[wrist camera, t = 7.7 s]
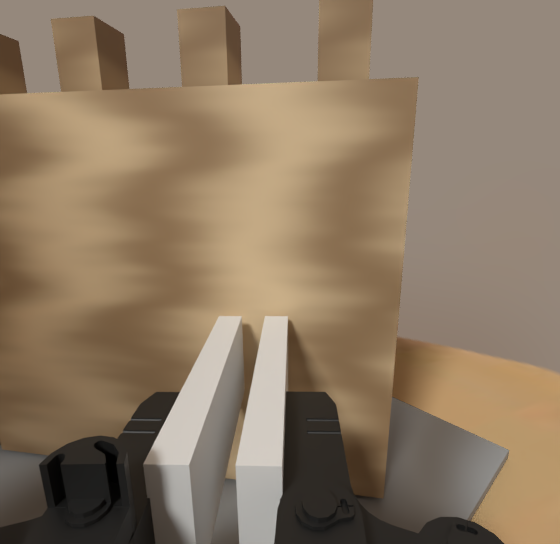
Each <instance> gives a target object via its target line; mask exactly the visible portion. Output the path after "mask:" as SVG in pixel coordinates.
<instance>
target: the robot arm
mask: <svg viewBox="0 0 560 544" xmlns="http://www.w3.org/2000/svg"><path fill="white" fill-rule="evenodd" d="M244 390H245V383H244V358H243V333H242V316H219V317H218V319H217V321H216V323H215V325H214V327H213V329H212V331H211V333H210V335H209V337H208V339H207V341H206V343H205V345H204V346H203V348H202V350H201V352H200V354H199V356H198V358H197V360H196V362H195V364H194V366H193V368H192V370H191V372H190V374H189V376H188V378H187V380H186V382H185V384H184V386H183V387H182V389H181V391H180V392H155V393H154V394H153V395H151V396H150V397H149V398H147V399H146V400H145V401H143V402H142V403H141V404H140V405H139V406H138V408H137V409H136V411H135V413H134V414H133V416H132V417H131V421H129V422H128V423H127V425H126V426H125V428H124V429H123V433H121V434H120V435H119V437H118V438H117V439H116V438H115V437H109V436H101V435H100V436H93V437H86V438H82V439H79V440H76V441H74V442H71V443H68V444H66V445H64V446H63V447H61V448H59V449H57V450H56V451H54V452H52V453H51V454H50V455H49V456H48V457H47V458H45V459H44V460H43V461H42V462H41V463H40V464H39V469H40V474H41V478H42V483H43V488H44V493H45V498H46V502H47V507H48V508H47V509H46V511H45V512H44V514H43V515H42V516H41V517H37V518H34V519H31V520H28V521H24V522H20V523H16V524H12V525H8V526H4V527H0V544H211V539H212V535H213V530H214V526H215V521H216V517H217V512H218V508H219V503H220V499H221V494H222V490H223V485H224V481H225V476H226V472H227V467H228V463H229V458H230V454H231V449H232V445H233V440H234V435H235V431H236V426H237V422H238V417H239V413H240V408H241V404H242V399H243V395H244ZM235 467H236V488H237V508H238V528H239V544H504V543H503V542H502V541H501V540H500V539H499V538H498V537H497V536H496V535H495V534H493V533H492V532H490V531H488V530H487V529H485V528H483V527H482V526H480V525H479V524H477V523H475V522H471V521H468V520H465V519H462V518H459V517H438V518H436V519H433V520H431V521H428V522H427V523H426V524H425V525H424V527H423V528H422V529H421V531H420V532H419V533H416V532H413V531H409V530H406V529H403V528H400V527H397V526H394V525H391V524H389V523H386V522H384V521H382V520H380V519H378V518H377V517H375V516H374V515H372V514H371V513H369V512H368V511H367V510H366V509H365V508H364V507H363V506H362V505H361V504H360V503H359V501H358V500H357V498H356V497H355V495H354V493H353V490H352V487H351V483H350V478H349V472H348V467H347V461H346V456H345V450H344V445H343V440H342V434H341V429H340V423H339V418H338V412H337V407H336V404H335V402H334V401H333V400H332V399H331V398H330V397H329V395H328V394H327V393H326V392H294V391H288V316H265V318H264V323H263V328H262V333H261V338H260V344H259V349H258V354H257V359H256V364H255V369H254V374H253V379H252V384H251V389H250V394H249V399H248V404H247V409H246V414H245V420H244V425H243V430H242V435H241V440H240V445H239V450H238V455H237V460H236V465H235Z"/></svg>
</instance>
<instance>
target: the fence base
mask: <svg viewBox="0 0 560 544" xmlns="http://www.w3.org/2000/svg"><path fill="white" fill-rule="evenodd" d="M508 454H509V450H508V449H505V448H503V447H501V446H499V445H497V444H494V443H492V442H490V441H488V440H486V439H483V438H481V437H479V436H477V435H475V434H473V433H470V432H468V431H466V430H464V429H462V428H459V427H457V426H455V425H453V424H451V423H448V422H446V421H444V420H442V419H440V418H437V417H435V416H433V415H431V414H429V413H427V412H424V411H422V410H420V409H418V408H416V407H413V406H411V405H409V404H407V403H405V402H402V401H400V400H398V399H396V398H394V397H392V401H391V413H390V425H389V437H388V449H387V461H386V473H385V485H384V497H383V498H375V497H367V496H360V495H355V497H356V498H357V500H358V501H359V503H360V504H361V505H362V506H363V507H364V508H365V509H366V510H367V511H368V512H369V513H371V514H372V515H374V516H375V517H377V518H378V519H380V520H382V521H384V522H386V523H389V524H391V525H394V526H397V527H400V528H403V529H406V530H409V531H413V532H416V533H419V532H420V531H421V529H422V528H423V527H424V525H425V524H426V523H427V522H428V521H431V520H433V519H436V518H438V517H459V518H462V519H465V520H468V521H471V519H472V517H473V516H474V514H475V512H476V511H477V509H478V507H479V505H480V504H481V502H482V500H483V499H484V497H485V495H486V494H487V492H488V490H489V489H490V487H491V485H492V484H493V482H494V480H495V479H496V477H497V475H498V473H499V472H500V470H501V468H502V467H503V465H504V463H505V462H506V460H507V458H508ZM48 456H49V455H41V454H33V453H26V452H18V451H10V450H2V447H1V442H0V527H4V526H8V525H12V524H16V523H20V522H24V521H28V520H31V519H34V518H37V517H41V516H42V515H43V514H44V512H45V511H46V509H47V508H48V507H47V502H46V498H45V493H44V488H43V483H42V478H41V474H40V469H39V464H40V463H41V462H42V461H43V460H44V459H45V458H47V457H48ZM211 544H239V528H238V508H237V488H236V480H235V479H227V478H225V481H224V485H223V490H222V494H221V499H220V503H219V508H218V512H217V517H216V521H215V526H214V530H213V535H212V539H211Z"/></svg>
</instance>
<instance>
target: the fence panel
mask: <svg viewBox="0 0 560 544" xmlns="http://www.w3.org/2000/svg"><path fill="white" fill-rule="evenodd" d="M372 12H373V0H319V42H318V81H316V82H293V83H292V82H291V83H266V84H243V85H242V76H241V75H242V74H241V39H240V26H239V24H238V23H237V22H236V21H235V19H234V18H233V16H232V15H231V13H230V12H229V11H228V9H227V8H226V7H225V6H217V7H203V8H190V9H178V10H177V13H178V30H179V45H180V59H181V75H182V87H170V88H147V89H146V88H144V89H129V82H128V72H127V62H126V52H125V42H124V34H122V33H121V32H119V31H118V30H116V29H114V28H113V27H111V26H109V25H108V24H106V23H104V22H103V21H101V20H100V19H98V18H96V17H94V16H84V17H70V18H57V19H51V23H52V30H53V37H54V44H55V51H56V58H57V65H58V72H59V79H60V86H61V92H48V93H27V90H26V84H25V78H24V72H23V66H22V60H21V54H20V48H19V42H18V41H16V40H14V39H11V38H9V37H6V36H4V35H1V34H0V442H1V447H2V450H10V451H18V452H26V453H33V454H41V455H50V454H51V453H52V452H54V451H56V450H57V449H59V448H61V447H63V446H64V445H66V444H68V443H71V442H74V441H76V440H79V439H82V438H86V437H93V436H100V435H101V436H109V437H115V438H116V439H117V438H118V437H119V435H120V434H121V433H123V429H124V428H125V426H126V425H127V423H128V422H129V421H131V417H132V416H133V414H134V413H135V411H136V409H137V408H138V406H139V405H140V404H141V403H142V402H143V401H145V400H146V399H147V398H149V397H150V396H151V395H153V394H154V393H155V392H180V391H181V389H182V387H183V386H184V384H185V382H186V380H187V378H188V376H189V374H190V372H191V370H192V368H193V366H194V364H195V362H196V360H197V358H198V356H199V354H200V352H201V350H202V348H203V346H204V345H205V343H206V341H207V339H208V337H209V335H210V333H211V331H212V329H213V327H214V325H215V323H216V321H217V319H218V317H219V316H242V333H243V358H244V383H245V390H244V395H243V399H242V404H241V408H240V413H239V417H238V422H237V426H236V431H235V435H234V440H233V445H232V449H231V454H230V458H229V463H228V467H227V472H226V476H225V478H227V479H235V480H236V467H235V465H236V460H237V455H238V450H239V445H240V440H241V435H242V430H243V425H244V420H245V414H246V409H247V404H248V399H249V394H250V389H251V384H252V379H253V374H254V369H255V364H256V359H257V354H258V349H259V344H260V338H261V333H262V328H263V323H264V318H265V316H288V391H294V392H326V393H327V394H328V395H329V397H330V398H331V399H332V400H333V401H334V402H335V404H336V407H337V412H338V418H339V423H340V429H341V434H342V440H343V445H344V450H345V456H346V461H347V467H348V472H349V478H350V483H351V487H352V490H353V493H354V495H360V496H367V497H375V498H383V497H384V485H385V473H386V461H387V449H388V437H389V425H390V413H391V401H392V389H393V378H394V366H395V354H396V342H397V330H398V317H399V306H400V293H401V281H402V270H403V269H402V268H403V258H404V246H405V234H406V222H407V210H408V198H409V186H410V173H411V162H412V150H413V138H414V126H415V114H416V101H417V89H418V77H414V78H389V79H369V69H370V50H371V31H372Z"/></svg>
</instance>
